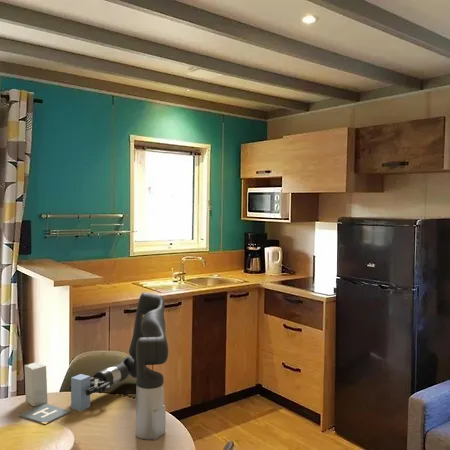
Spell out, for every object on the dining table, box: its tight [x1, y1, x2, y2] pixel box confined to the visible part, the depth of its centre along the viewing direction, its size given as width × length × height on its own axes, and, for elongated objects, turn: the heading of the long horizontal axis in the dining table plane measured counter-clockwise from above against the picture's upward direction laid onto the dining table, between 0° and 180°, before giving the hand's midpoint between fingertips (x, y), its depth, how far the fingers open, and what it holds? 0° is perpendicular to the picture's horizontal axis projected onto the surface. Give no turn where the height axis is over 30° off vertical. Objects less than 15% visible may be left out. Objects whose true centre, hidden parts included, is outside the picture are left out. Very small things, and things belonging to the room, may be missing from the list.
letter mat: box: [18, 403, 72, 423], centre depth 177 cm, size 14×12×1 cm
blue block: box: [70, 373, 91, 412], centre depth 183 cm, size 5×5×12 cm
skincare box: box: [24, 361, 48, 407], centre depth 188 cm, size 8×6×15 cm
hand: (78, 390), depth 182 cm, fingers open, 8 cm apart
